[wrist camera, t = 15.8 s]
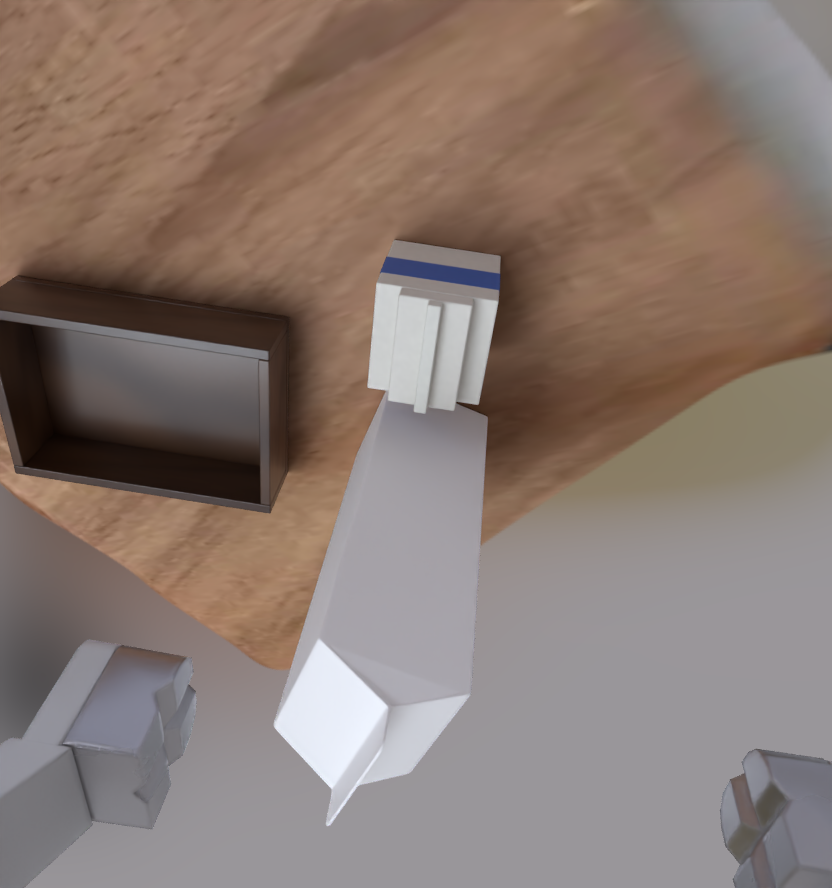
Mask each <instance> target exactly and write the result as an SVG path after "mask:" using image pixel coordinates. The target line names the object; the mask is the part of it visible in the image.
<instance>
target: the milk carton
mask: <svg viewBox="0 0 832 888" xmlns="http://www.w3.org/2000/svg"><path fill="white" fill-rule="evenodd" d="M500 262H501V256H498V255H492V254H485V253H478V252H472V251H465V250H459V249H452V248H445V247H439V246H432V245H426V244H419V243H412V242H406V241H399V240H394V241H393V243H392V246H391V248H390V251H389V253H388V256H387V257H386V259H385V262H384V264H383V267H382V269H381V272H380V276H379V278H378V281H377V284H376V295H375V306H374V317H373V329H372V340H371V351H370V363H369V374H368V385H367V387H368V388H373V389H379V390H386V391H388V401H393V402H399V403H405V404H412V405H414V409H413V411H414V412H417V413H423V414H425V413H426V411H427V407H431V408H437V409H444V410H450V411H454V410H455V407H456V402H462V403H469V404H475V405H478V404H479V401H480V396H481V391H482V386H483V380H484V375H485V370H486V365H487V360H488V355H489V349H490V344H491V339H492V334H493V329H494V324H495V318H496V313H497V308H498V303H499V292H500Z"/></svg>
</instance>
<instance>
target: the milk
mask: <svg viewBox="0 0 832 888" xmlns="http://www.w3.org/2000/svg"><path fill="white" fill-rule="evenodd" d="M413 409H414V405H412V404H405V403H399V402H393V401H388V391H386V392H385V394H384V396H383V398H382V400H381V403H380V405H379V407H378V409H377V411H376V413H375V416H374V418H373V420H372V422H371V424H370V426H369V429H368V431H367V433H366V435H365V437H364V439H363V442H362V444H361V446H360V448H359V450H358V452H357V455H356V458H355V462H354V465H353V468H352V471H351V475H350V478H349V481H348V484H347V488H346V491H345V494H344V497H343V500H342V504H341V507H340V510H339V513H338V517H337V520H336V523H335V526H334V530H333V533H332V536H331V539H330V543H329V546H328V549H327V552H326V556H325V559H324V562H323V565H322V569H321V572H320V575H319V578H318V582H317V585H316V588H315V591H314V595H313V598H312V601H311V604H310V608H309V611H308V614H307V617H306V620H305V624H304V627H303V630H302V633H301V637H300V640H299V643H298V646H297V650H296V653H295V656H294V659H293V663H292V666H291V669H290V673H289V676H288V679H287V682H286V685H285V689H284V692H283V695H282V698H281V702H280V705H279V708H278V711H277V715H276V718H275V721H274V727H275V729H276V730H277V731H278V732H279V733H280V734H281V735H282V736H283V737H284V739H285V740H286V741H287V742H288V743H289V744H290V745H291V746H292V747H293V748H294V749H295V750H296V751H297V752H298V754H300V756H301V757H302V758H303V759H304V760H305V761H306V762H307V763H308V764H309V765H310V766H311V767H312V769H313V770H314V771H315V772H316V773H317V774H318V775H319V776H320V777H321V778H322V779H323V780H324V781H325V782H326V784H327V785H328V786H329V787H330V788H331V789H332V795H331V800H330V805H329V809H328V814H327V819H326V825H327V826H330V825H331V823H332V822H333V820H334V819H335V818H336V816H337V815H338V813H339V812H340V811H341V809H342V808H343V806H344V805H345V804H346V802H347V801H348V799H349V798H350V797H351V795H352V794H353V792H354V791H355V789H356V788H357V786H358V785H362V784H366V783H371V782H375V781H379V780H384V779H388V778H392V777H396V776H401V775H405V774H408V773H410V772H411V771H412V770H413V769H414V767H415V766H416V765H417V763H418V762H419V761H420V759H421V758H422V757H423V756H424V754H425V753H426V752H427V750H428V749H429V748H430V747H431V745H432V744H433V743H434V741H435V740H436V739H437V738H438V736H439V735H440V734H441V732H442V731H443V730H444V728H445V727H446V726H447V725H448V723H449V722H450V721H451V720H452V718H453V717H454V716H455V714H456V713H457V712H458V711H459V709H460V708H461V707H462V705H463V704H464V703H465V702H466V700H467V699H468V698H469V696H470V695H471V690H472V674H473V658H474V641H475V623H476V608H477V591H478V574H479V557H480V541H481V524H482V508H483V491H484V474H485V458H486V441H487V424H488V417H487V416H485V415H483V414H480V413H478V412H475V411H473V410H471V409H468V408H466V407H463V406H461V405H459V404H456V407H455V410H454V411H450V410H444V409H437V408H431V407H427V411H426V413H425V414H423V413H417V412H414V411H413Z"/></svg>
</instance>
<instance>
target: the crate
mask: <svg viewBox="0 0 832 888" xmlns="http://www.w3.org/2000/svg"><path fill="white" fill-rule="evenodd" d="M288 396H289V317H286V316H279V315H272V314H266V313H259V312H252V311H246V310H239V309H232V308H226V307H219V306H212V305H206V304H199V303H192V302H186V301H179V300H172V299H166V298H159V297H153V296H146V295H139V294H133V293H126V292H119V291H113V290H106V289H99V288H93V287H86V286H79V285H73V284H66V283H59V282H53V281H46V280H40V279H33V278H26V277H20V276H16V277H14V278H13V279H12V280H10V281H8V282H7V283H6V284H4V285H3V286H1V287H0V414H1V418H2V421H3V425H4V429H5V433H6V437H7V441H8V445H9V448H10V452H11V456H12V460H13V464H14V468H15V472H16V473H17V474H24V475H30V476H36V477H43V478H49V479H55V480H62V481H68V482H74V483H81V484H87V485H93V486H100V487H106V488H112V489H119V490H125V491H131V492H138V493H144V494H150V495H157V496H163V497H169V498H176V499H182V500H188V501H195V502H201V503H207V504H214V505H220V506H226V507H232V508H239V509H245V510H251V511H258V512H264V513H271V511H272V508H273V506H274V504H275V501H276V499H277V497H278V494H279V492H280V489H281V487H282V485H283V482H284V480H285V478H286V475H287V473H288Z"/></svg>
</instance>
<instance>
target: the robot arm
mask: <svg viewBox="0 0 832 888" xmlns="http://www.w3.org/2000/svg"><path fill="white" fill-rule="evenodd" d="M193 672H194V671H193V665H192V659H191V658H190V657H184V656H179V655H174V654H168V653H163V652H157V651H151V650H146V649H141V648H135V647H129V646H124V645H120V644H114V643H108V642H102V641H95V640H89V639H88V640H86V641H85V642H84V643H83V644H82V645H81V646H80V647H79V648H78V649H77V650H76V652H75V653H74V655H73V657H72V658H71V660H70V662H69V663H68V665H67V666H66V668H65V670H64V671H63V673H62V674H61V676H60V678H59V679H58V681H57V682H56V684H55V686H54V687H53V689H52V690H51V692H50V694H49V695H48V697H47V698H46V700H45V702H44V703H43V705H42V707H41V708H40V710H39V711H38V713H37V715H36V716H35V718H34V719H33V721H32V723H31V724H30V726H29V728H28V729H27V731H26V732H25V734H24V736H23V737H22V738H15V737H11V738H9V739H8V740H6V741H5V742H3V743H2V744H0V888H24V887H25V886H27V885H28V884H29V883H30V882H31V881H32V880H33V879H34V878H35V877H36V876H37V875H39V874H40V873H41V872H42V871H43V870H44V869H45V868H46V867H47V866H48V865H50V864H51V863H52V862H53V861H54V860H55V859H56V858H57V857H58V856H59V855H60V854H62V853H63V852H64V851H65V850H66V849H67V848H68V847H69V846H70V845H71V844H73V843H74V842H75V841H76V840H77V839H78V838H79V837H80V836H81V835H82V834H83V833H85V831H87V830H88V829H89V828H90V827H91V826H92V824H93V823H92V821H96V822H103V823H110V824H118V825H124V826H132V827H139V828H146V829H153V827H154V824H155V822H156V819H157V817H158V815H159V812H160V810H161V807H162V805H163V802H164V800H165V798H166V795H167V793H168V790H169V788H170V785H171V781H170V774H169V767H168V766H170V765H171V764H172V763H173V762H175V761H176V760H177V759H179V758H180V757H181V756H182V755H183V753H184V751H185V748H186V746H187V743H188V741H189V738H190V735H191V731H192V727H193V723H194V719H195V713H196V691H195V690H194V689H193V688H192V687H191V686H190V685H189V682H190V679H191V677H192V674H193ZM742 765H743V768H744V774H742V775H739V776H737V777H735V778H733V779H730V781H729V783H728V785H727V787H726V788H725V790H724V792H723V796H722V803H721V809H720V815H721V828H722V832H723V838H724V842H725V846H726V848H727V849H728V850H729V851H730V853H731V854H732V855H733V856H734V857H735V859H736V860H737V861H738V862H739V864H740V866H739V868H738V870H737V872H736V874H735V876H734V878H733V882H734V886H735V888H832V761H826V760H824V759H822V758H815V757H808V756H801V755H795V754H788V753H781V752H774V751H767V750H761V749H754V750H752V751H749V752H748V753H747V755H746V756H745V758H744V759H743V761H742Z"/></svg>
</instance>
